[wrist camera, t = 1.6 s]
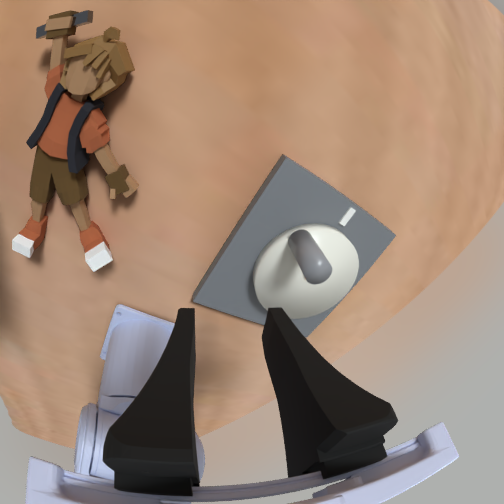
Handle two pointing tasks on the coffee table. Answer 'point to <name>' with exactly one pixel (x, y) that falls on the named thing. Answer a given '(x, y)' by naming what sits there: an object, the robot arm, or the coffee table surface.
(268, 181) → the stand plate
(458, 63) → the coffee table surface
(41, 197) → the character figurine
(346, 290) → the dial
